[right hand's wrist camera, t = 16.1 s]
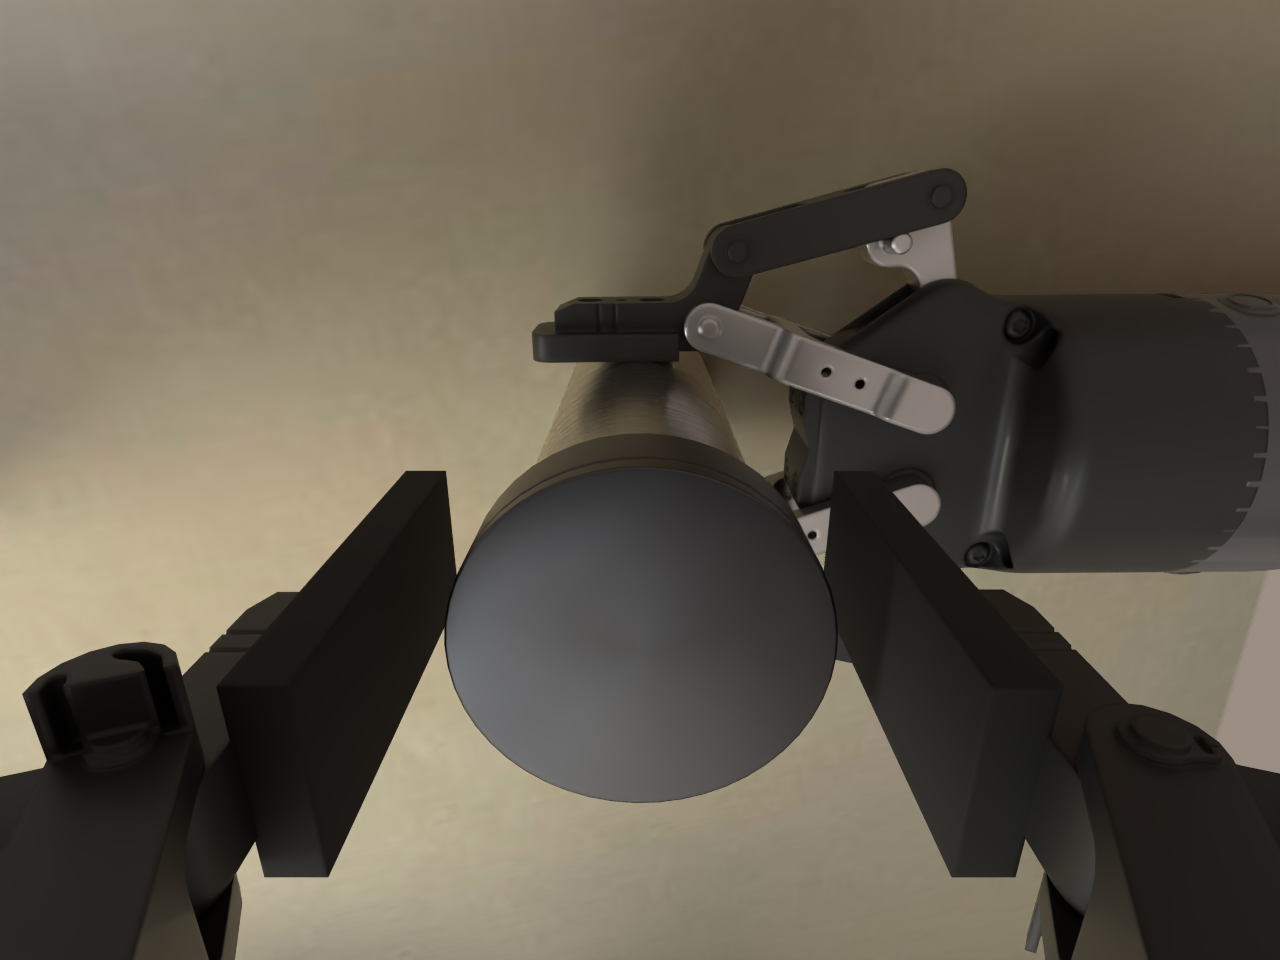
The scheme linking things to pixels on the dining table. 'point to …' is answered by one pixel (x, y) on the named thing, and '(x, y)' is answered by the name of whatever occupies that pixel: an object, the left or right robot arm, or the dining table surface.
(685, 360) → the jar
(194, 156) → the dining table surface
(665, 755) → the lid
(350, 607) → the right robot arm
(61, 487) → the dining table surface
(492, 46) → the dining table surface
